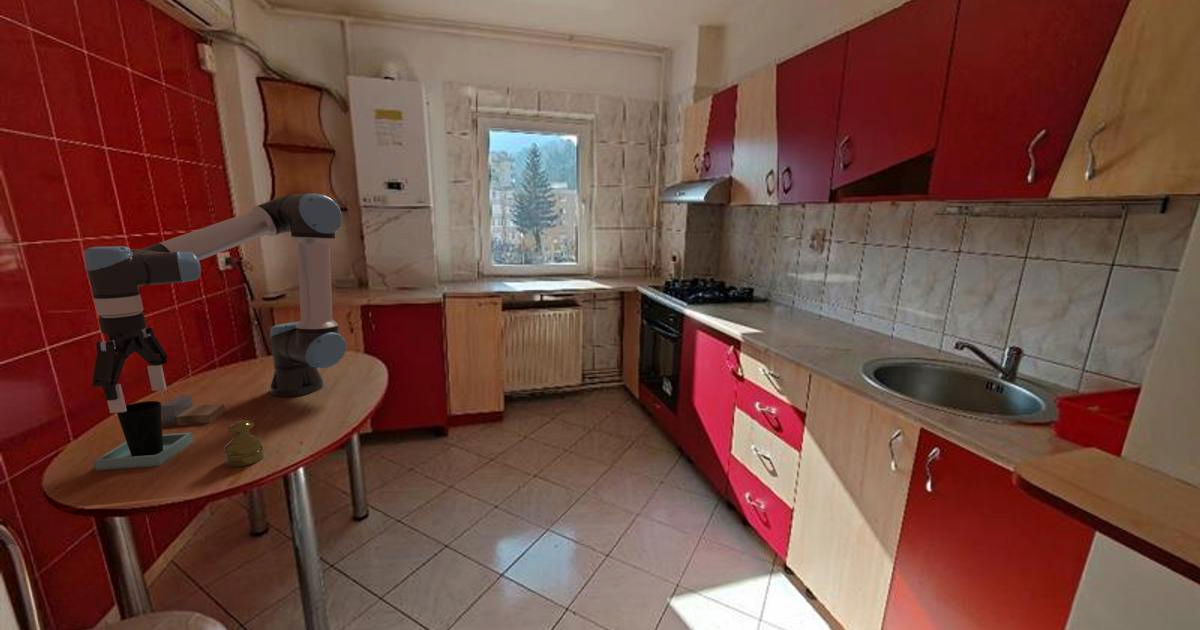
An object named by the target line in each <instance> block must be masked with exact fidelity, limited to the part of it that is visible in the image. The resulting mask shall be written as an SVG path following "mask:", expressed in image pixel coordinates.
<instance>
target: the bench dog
mask: <svg viewBox="0 0 1200 630" xmlns="http://www.w3.org/2000/svg"><path fill="white" fill-rule="evenodd" d="M192 406H194V405H193V399H192V394H183V395H178V396H176V397H174V398H172V399H169V401H167V402H165V403H164V404H161V414H162V425H163V427H171V426H174V427H175V426H178V425H177V422H176V416H177V415H179V414H181V413H182V412H184V411H185V410H187V409H189V408H190V407H192Z"/></svg>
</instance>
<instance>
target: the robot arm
mask: <svg viewBox="0 0 1200 630" xmlns="http://www.w3.org/2000/svg"><path fill="white" fill-rule="evenodd" d="M342 222H343V213H342V211H341V208H340V206H339V204H338V203H336V201H334V200H333V199H332V198H331V197H329V196H328V195H324V194H319V193H316V192H315V193H310V192H308V193H290V194H289V193H288V194H284V195H282V196H279V197H276V198H274V199H273V198H272V199H271V200H269V201H268V200H267V202H264V203H260V204H257V205H255V206H253V207H252V208H251V211H248V212H246V213H243V214H241V215H240V214H239V215H238V216H234V217H232V218H228V219H226V220H223V221H220V222H217V223H214V224H210V225H207V226H204V227H202V228H199V229H197V230H194V231H191V232H188V233H185V234H181V235H179V236H176V237H172V238H170V239H167V240H164V241H161V242H159V243H156V244H153V245H150V246H147V247H144V248H133V249H131V248H130V247H129V246H122V245H119V246H118V245H115V246H114V245H113V246H93V247H88V248H86V249H85V250H84V252H83V257H84V258H83V259H84V263H85V268H84V269H85V271H86V273H87V277H88V281H89V284H90V289H91V293H92V298H93V301H94V305H95V310H96V315H98V316H99V317H98V318H97V320H98V324H99V325H98V326H99V329H100V332H101V333H102V334H104V335H106V336H107V337H108V338H107V339H108V340H106V341H97V342H96V343H95V344H96V358H95V362H94V363H95V364H94V371H93V376H92V382H91V383H92V384H91V385H92V387H93V388H95V387H96V388H100V387H101V388H102V389H103V394H104V396H105V400H106V402H107V405H108V409H109V410H108V411H109V414H117V413H118V412H125V411H127V409H126V406H127V405H126V401H125V396H124V392H123V388H122V384H121V383H118V381H119V379H120V376H121V373H122V370H123V367H124V365H125V362H126V359H128V358H129V357H130V355H133V353H136V354H138V355H139V356H140V357H141V358H142V359H143V360H144V361H145V362H147V363H148V364H149V365H147V366H146V368H147V373H148V378H149V382H150V387H151V391H152V392H153V391H166V390H167V389H168V388H167V384H166V379H165V375H164V369H163V367H164V366H163V365H165V364H166V365H167V364H168V363H167V362H168V360H167V359H168V358H169V357H168V354H167V352H166V350H165V349H164V348H163V346H162V345H161V343H160V341H159V340H158V338H157V337H156V336H155V333H154V329H153V328H152V327H147V322H146V316H145V313H143V311H144V306H143V302H142V297H141V292H140V287H146V286H153V285H165V284H166V285H167V284H176V283H183V284H184V283H186V282H192V281H193V282H194V281H197V280H198V279H199V278H200V277H201V274H202V273H201V272H202V267H201V263H200V261H201V260H204V259H207V258H209V257H212V256H214V255H217V254H220V253H223V252H225V251H227V250H230V249H233V248H235V247H238V246H241V245H243V244H246V243H249V242H251V241H253V240H256V239H260V238H261V237H264V236H269V237H274V236H276V235H279V234H284V233H290V237H291V239H292V240H294V241H295V242H296V244H297V260H298V261H297V262H298V282H299V283H298V284H299V305H300V307H299V308H300V320H299V321H293V322H286V323H280V324H275V325H273V326H272V327H270V330H269V339H270V345H271V352H272V359H273V366H274V367H273V368H274V372H273V375H272V379H271V382H270V395H272V396H274V397H279V398H281V397H282V398H290V397H299V396H302V395H303V396H304V395H308V394H312V393H314V392H317V391H319V390H321V389H322V388H323V387H324V385H325V384H324V378H323V377H322V374H321V372H320V370H319V369H327V368H331V367H333V366H335V365H337V364H338V363H339V362H340V361H341V360H342V359H343V358H344V356H345V354H346V350H347V342H346V339H345V337H343V336H342V335H341V334H340V333H339V324H338V323H337V322H336V321H335V320H334V319H333V300H332V299H333V297H332V296H333V294H332V268H331V267H332V266H331V265H332V264H331V244H332V243H333V242H334V241H335V240H336V231H338V230H339V228H340V227H341V225H342Z"/></svg>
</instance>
